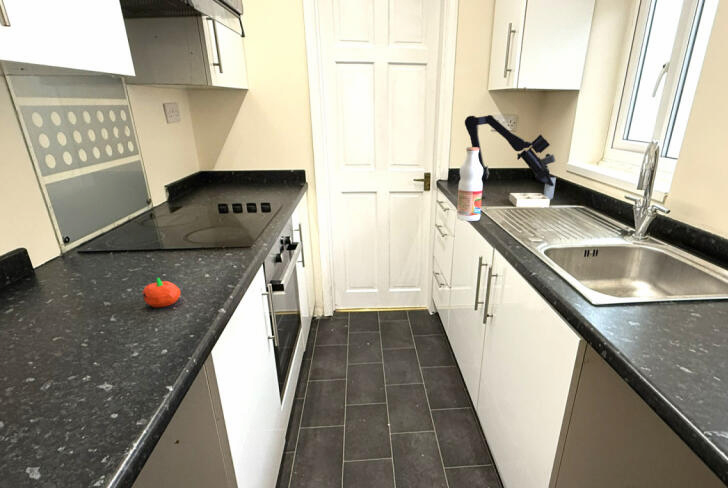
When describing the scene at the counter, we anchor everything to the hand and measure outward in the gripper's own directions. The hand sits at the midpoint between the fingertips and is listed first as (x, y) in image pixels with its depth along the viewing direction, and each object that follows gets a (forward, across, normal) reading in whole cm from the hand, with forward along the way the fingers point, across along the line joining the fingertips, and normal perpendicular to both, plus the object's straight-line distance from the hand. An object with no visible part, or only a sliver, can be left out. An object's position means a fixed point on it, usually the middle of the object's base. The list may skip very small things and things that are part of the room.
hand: (552, 184), depth 197 cm
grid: (-2, -8, +13) cm, 15 cm away
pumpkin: (-57, -146, +70) cm, 172 cm away
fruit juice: (-18, -46, +30) cm, 58 cm away
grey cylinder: (+4, 0, +6) cm, 7 cm away
